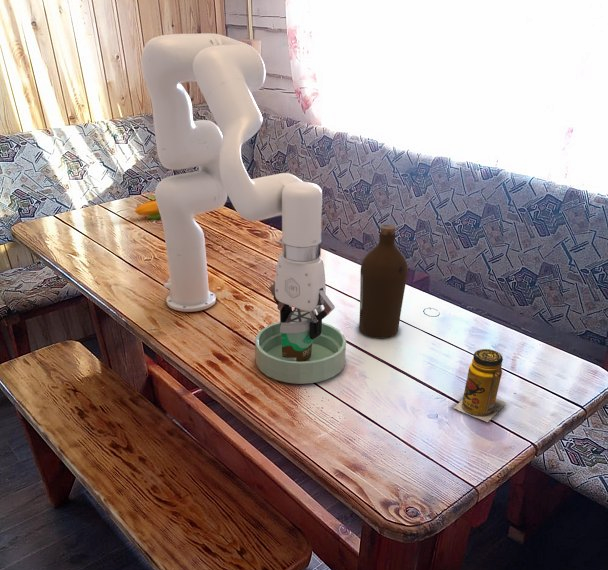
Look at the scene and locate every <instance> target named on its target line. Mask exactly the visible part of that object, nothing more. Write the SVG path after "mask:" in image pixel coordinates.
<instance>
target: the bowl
mask: <svg viewBox="0 0 608 570" xmlns="http://www.w3.org/2000/svg"><path fill="white" fill-rule="evenodd" d="M254 347H255V349H254V350H255V365H256V367H257V368H258V370H259V371H260V372H261V373H262V374H264V375H265V376H266V377H268V378H271V379H273V380H275V381H279V382H284V383H288V384H298V385H303V384H314V383H320V382H324V381H326V380H329V379H331V378H334V377H335V376H336V375H338V374H340V373H341V372H342V370H343V368H345V363H346V353H347V351H346V350H347V339H346V336H345V333H343V332H342V331H341V330H340V329H338V328H336V327H335V326H334V325H331V324H329V323H326V322H323V321H322V332H321V335H319V336H318V337H316V338H314V339H313V343H312V352H311V357H310V359H308V360H307V361H304V362H297V361H287V360H283V359H282V341H281V333H280V321H277V322H273V323H272V324H268V325H267V326H265V327H263V328H262V329H261V330H260V331H259V332H257V334H256V337H255V339H254Z"/></svg>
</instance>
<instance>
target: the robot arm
mask: <svg viewBox="0 0 608 570" xmlns="http://www.w3.org/2000/svg"><path fill="white" fill-rule="evenodd" d="M141 71H142V76H143V80H144V83H145V86H146V88H147V91H148V95H149V98H150V104H151V108H152V109H151V110H152V118H153V119H152V120H153V127H154V129H153V130H154V137H155V145H156V146H155V147H156V152H157V157H158V160H159V162H160V164H161V165H162V167H163V168H165V169H167V170H170V171H180V170H186V169H192V168H198V170H196V171H192V172H185V173H179V174H175V175H174V174H173V175H170V176H167V177H165V178H163V179H161V180H160V181H159V182H158V183H157V185H156V187H155V191H154V196H155V198H154V199H156V202H157V206H158V209H159V212H160V215H161V218H160V219H161V223H162V228H163V234H164V235H163V236H164V241H165V242H164V243H165V250H166V257H167V267H168V274H169V275H168V276H169V278H167V282H164V284H163V287H164V288H165V289H167V290H169V295H168V296H167V297H166V299H165V300H166V305H167V306H168V307H169V308H170V309H171V310H174V311H178V312H181V313H182V312H183V313H194V312H200V311H204V310H207V309H210V308H211V307H213V306H214V305H215V303H216V301H217V298H216V294H215V293H214V292H212V291H210V286H209V277H208V276H209V275H208V263H207V251H206V250H207V249H206V240H205V239H206V238H205V234H204V231H203V229H202V227H201V226H200V224H198V222H197V220H196V219H195V217H196V216H200V215H202V214H205V213H210V212H214V211H218V210H220V209H222V208H223V207H224V206H225V204H226V202H227V200H228V198H229V200H230V202H231V205H232V206H233V208H234V210H235V211H236V212H237V214H238V215H239V216H240V217H241V218H242V219H243V220H244V221H247V222H253V223H254V222H259V221H264V220H267V219H271V218H275V217H279V216H281V238H280V239H279V240H278V244H279V245H280V246H281V252H280V253H279V255H278V258H277V263H276V269H275V279H274V280H275V281H274V282H273V284H271V285H269V287H268V289H269V291H270V293H271V295H272V296H273V300H274V301H275V303H276V305H277V309H278V311H279V322H280V326H281V323H285V321H286V320H287V318H288V316H289V314H290V313H291V312H292V311H293V308H294V309H295V308H298V309H301V310H304V311H308V312H309V313H310V316H311V318H312V321H311V322H310V339H312V340H313V339H314V338H316V337H318V336H319V335H321V332H322V322H323V320H324V319H325V318H326V317H327V316H329V315H330V313H332V312H333V311H334V310H335V309H336V307H335V304H334V303H333V302H332V301H331V299H330V298H329V297H328V295H327V293H326V288H327V287H326V272H325V264H324V260H323V258H322V257H321V254H322V253H321V251H322V222H323V221H322V219H323V191H322V188H321V187H320V186H319V185H318V184H316V183H313V182H309V181H304V180H302V179H301V178H298V177H297V176H296V175H294V174H293V173H289V172H282V173H275V174H272V175H265V176H259V177H256V178H252V179H251V177H250V176H249V173H248V171H247V169H246V167H245V164H244V163H243V159H242V146H243V145H244V144H245V143H246V142H247V141H249V140H250V139H252V137H254V136H255V135H256V134H257V133H258V132H259V130H260V129H261V127H262V125H263V116H262V113H261V111H260V109H259V107H258V105H257V103H256V100H255V98H254V97H253V94H252V93H255V92H257V91H259V90H260V89H262V87H263V85H264V83H265V82H266V81H265V80H266V66H265V63H264V60H263V58H262V56H261V55H260V53H259V51H258V50H257V49H256V48H254V47H253V46H252V45H250V44H248V43H246V42H244V41H240V40H238V39H234V38H232V37H229V36H226V35H223V34H219V33H212V32H211V33H209V32H207V33H206V32H205V33H170V34H169V33H168V34H161V35H158V36H155V37H152V38H150V39H149V40H148V41H147V42H146V43H145V45H144V47H143V50H142V54H141ZM183 83H196V84H197V85H198V88H199V90H200V93H201V95H202V97H203V98H204V100H205V102H206V104H207V107H208V109H209V111H210V113H211V115H212V117H213V119H214V121H215V122H213V121H212V120H208V119H198V120H194V117H193V104H192V100H191V97H190V95H189V93H188V92H187V90H186V88H185V86H183V85H182V84H183ZM322 306H323V307H322Z"/></svg>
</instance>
